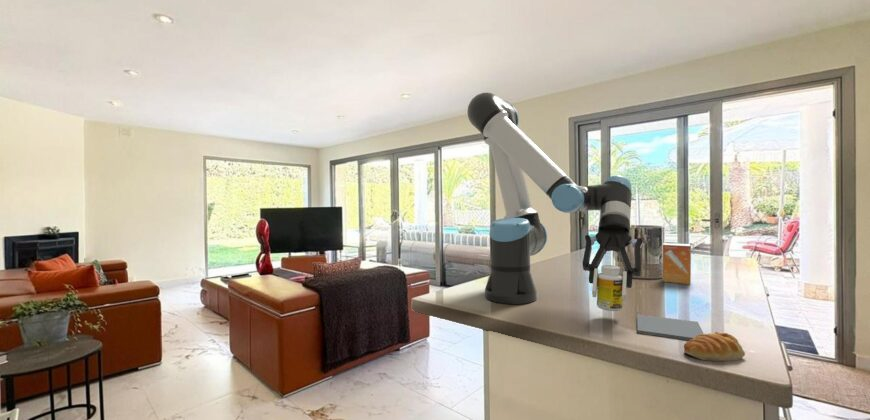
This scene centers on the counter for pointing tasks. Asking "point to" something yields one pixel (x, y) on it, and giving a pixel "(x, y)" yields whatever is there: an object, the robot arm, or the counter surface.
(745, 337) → the counter surface
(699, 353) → the pastry
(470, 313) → the counter surface
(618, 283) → the supplement bottle
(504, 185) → the robot arm
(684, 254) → the small box
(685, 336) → the mat
